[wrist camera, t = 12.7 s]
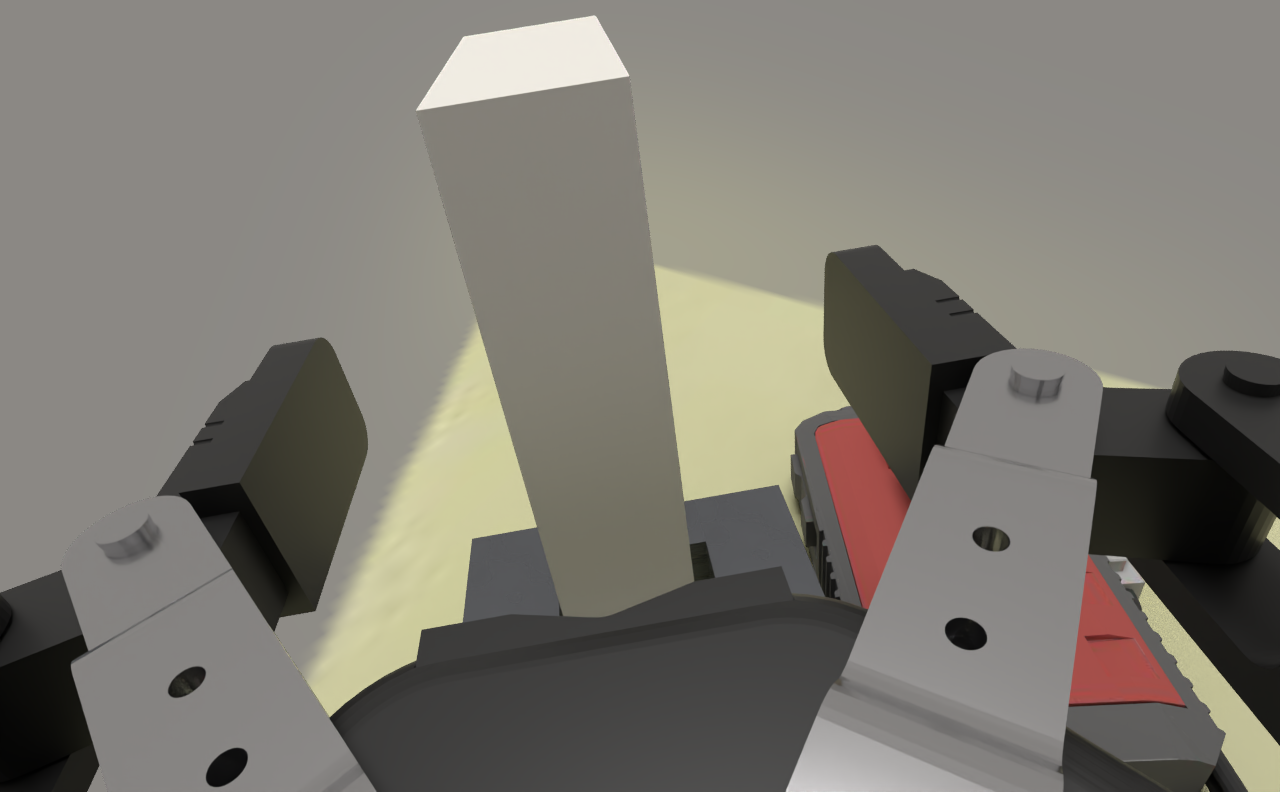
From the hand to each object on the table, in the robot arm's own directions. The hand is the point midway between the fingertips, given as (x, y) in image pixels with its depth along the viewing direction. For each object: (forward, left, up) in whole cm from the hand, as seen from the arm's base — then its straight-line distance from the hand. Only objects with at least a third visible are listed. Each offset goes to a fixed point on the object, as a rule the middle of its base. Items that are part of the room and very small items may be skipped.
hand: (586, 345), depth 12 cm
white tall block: (0, +1, -10) cm, 11 cm away
